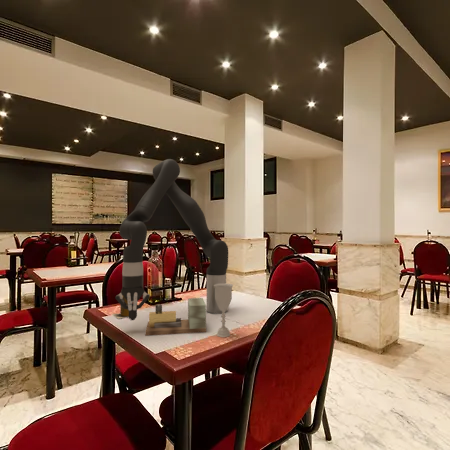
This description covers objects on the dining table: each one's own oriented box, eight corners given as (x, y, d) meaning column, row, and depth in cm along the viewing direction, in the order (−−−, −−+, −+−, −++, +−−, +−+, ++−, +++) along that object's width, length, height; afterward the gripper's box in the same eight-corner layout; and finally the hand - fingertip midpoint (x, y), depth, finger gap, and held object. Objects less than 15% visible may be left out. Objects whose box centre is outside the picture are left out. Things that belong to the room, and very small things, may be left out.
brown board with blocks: (202, 322, 127) (202, 297, 127) (205, 332, 115) (205, 305, 115) (147, 325, 123) (147, 300, 123) (145, 335, 111) (145, 307, 111)
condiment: (137, 316, 136) (137, 288, 136) (117, 319, 131) (117, 291, 132) (132, 312, 142) (132, 286, 142) (113, 315, 138) (113, 288, 138)
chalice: (225, 330, 117) (225, 282, 117) (237, 335, 111) (237, 285, 112) (209, 334, 112) (209, 285, 112) (221, 339, 107) (221, 287, 107)
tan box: (175, 323, 120) (175, 303, 120) (176, 325, 117) (175, 305, 117) (149, 324, 119) (149, 304, 119) (149, 327, 116) (149, 306, 116)
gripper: (151, 272, 121) (151, 316, 121) (116, 272, 119) (116, 317, 119) (150, 274, 114) (149, 321, 114) (112, 275, 112) (112, 323, 111)
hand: (132, 319), depth 116 cm, fingers closed
